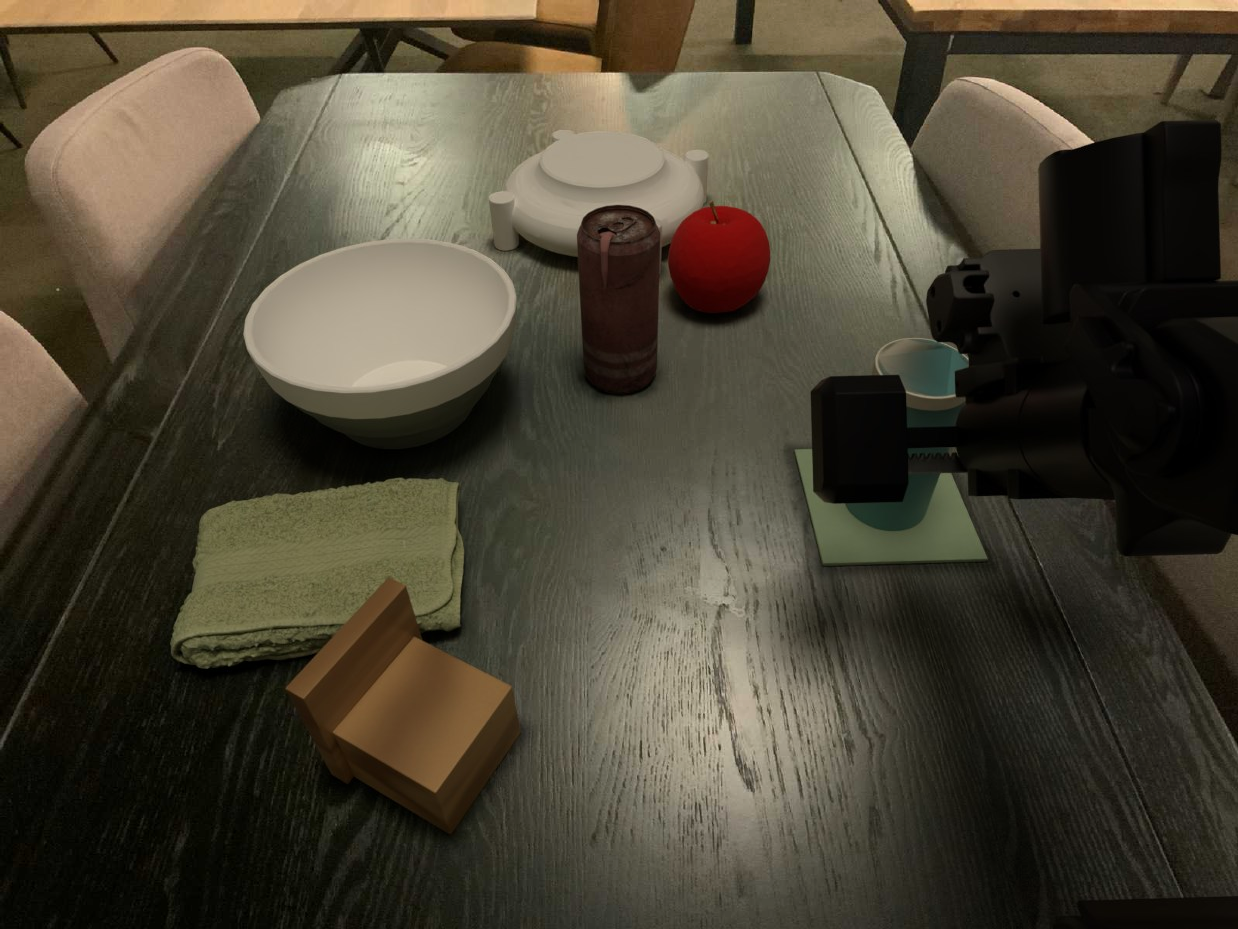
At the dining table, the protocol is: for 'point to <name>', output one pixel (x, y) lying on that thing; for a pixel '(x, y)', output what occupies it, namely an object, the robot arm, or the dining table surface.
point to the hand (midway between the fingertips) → (940, 441)
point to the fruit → (719, 258)
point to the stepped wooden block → (404, 712)
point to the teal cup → (917, 420)
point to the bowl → (385, 337)
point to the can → (619, 297)
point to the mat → (859, 544)
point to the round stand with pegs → (595, 188)
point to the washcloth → (317, 568)
